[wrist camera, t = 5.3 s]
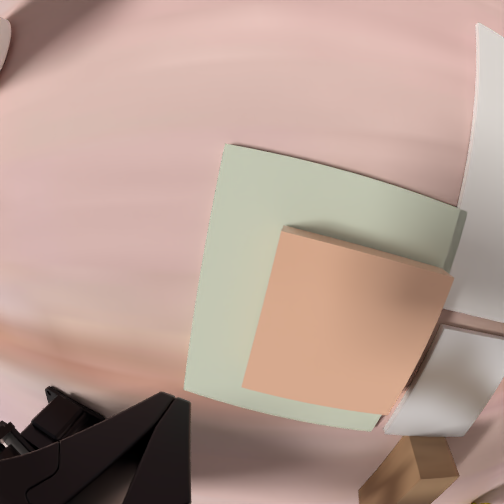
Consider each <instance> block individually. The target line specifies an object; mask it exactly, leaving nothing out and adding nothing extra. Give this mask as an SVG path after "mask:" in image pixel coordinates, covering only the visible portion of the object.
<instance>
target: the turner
mask: <svg viewBox="0 0 504 504" xmlns="http://www.w3.org/2000/svg"><path fill="white" fill-rule="evenodd" d="M503 377H504V337H502V336H497V335H492V334H487V333H482V332H478V331H473V330H468V329H463V328H458V327H454V326H449V325H444V324H441V325H440V327H439V329H438V331H437V334H436V336H435V338H434V340H433V342H432V344H431V346H430V348H429V350H428V352H427V354H426V356H425V358H424V360H423V362H422V364H421V366H420V368H419V370H418V372H417V374H416V375H415V377H414V379H413V381H412V383H411V384H410V386H409V388H408V390H407V391H406V393H405V395H404V397H403V398H402V400H401V402H400V403H399V405H398V406H397V408H396V410H395V411H394V413H393V414H392V416H391V418H390V419H389V421H388V422H387V424H386V425H385V427H384V428H383V429H384V433H385V434H389V435H403V437H402V438H401V440H400V441H399V442H398V444H397V445H396V446H395V448H394V449H393V450H392V451H391V453H390V454H389V455H388V456H387V458H386V459H385V460H384V461H383V463H382V464H381V465H380V466H379V468H378V469H377V470H376V471H375V472H374V473H373V475H372V476H371V477H370V478H369V479H368V480H367V481H366V483H365V484H364V485H363V486H362V487H361V488H360V489H359V490H358V493H359V504H431V503H432V502H433V501H434V500H435V499H436V498H437V497H439V496H440V495H441V494H442V493H443V492H444V491H445V490H446V489H447V488H448V487H449V486H450V485H451V484H452V483H453V482H454V481H455V480H456V479H457V478H458V477H459V473H458V470H457V468H456V465H455V462H454V459H453V457H452V454H451V451H450V449H449V446H448V444H447V441H446V439H445V437H462V436H464V435H465V434H466V432H467V431H468V430H469V428H470V427H471V426H472V424H473V423H474V422H475V420H476V419H477V417H478V416H479V415H480V413H481V412H482V410H483V409H484V407H485V406H486V404H487V403H488V401H489V400H490V398H491V397H492V395H493V394H494V392H495V390H496V389H497V387H498V386H499V384H500V382H501V381H502V379H503Z"/></svg>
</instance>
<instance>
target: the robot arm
mask: <svg viewBox="0 0 504 504" xmlns="http://www.w3.org/2000/svg"><path fill="white" fill-rule="evenodd" d="M45 392H46V396H47V400H48V403H49V404H48V405H47V406H46V407H45V408H44V409H43V410H42V411H41V412H40V413H39V414H37V415H36V416H35V417H34V418H33V419H32V421H31V423H30V424H29V425H28V426H27V427H26V428H25V429H24V430H23V431H22V432H21V433H19V432H18V431H17V430H16V429H15V426H14V425H13V424H12V423H11V422H9V423H8V424H7V423H5V422H4V421H1V422H0V504H191V462H190V429H191V403H190V401H187V400H184V399H182V398H179V397H177V398H175V396H173V395H171V394H168V393H165V392H159V393H157V394H155V395H153V396H151V397H150V398H148V399H146V400H144V401H142V402H140V403H138V404H136V405H134V406H132V407H130V408H128V409H126V410H124V411H122V412H120V413H118V414H116V415H114V416H112V417H110V418H108V419H106V420H105V418H104V417H103V416H101V415H99V414H97V413H95V412H94V411H92V410H90V409H88V408H86V407H84V406H82V405H81V404H79V403H77V402H75V401H73V400H72V399H70V398H68V397H66V396H65V395H63V394H61V393H60V392H58V391H56V390H55V389H53V388H52V387H50V386H48V387H47V388H46V389H45ZM4 442H5V443H6V444H7V445H8V447H7V448H6V447H5V446H4V445H3V443H4Z"/></svg>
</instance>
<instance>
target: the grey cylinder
mask: <svg viewBox="0 0 504 504" xmlns="http://www.w3.org/2000/svg"><path fill="white" fill-rule="evenodd" d="M10 39H11V25H10V22H9V21H8V20H7V19H4V18H1V17H0V71H1V69H2V67H3V64H4V62H5V59H6V56H7V52H8V48H9V44H10Z"/></svg>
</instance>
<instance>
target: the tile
mask: <svg viewBox="0 0 504 504" xmlns="http://www.w3.org/2000/svg"><path fill="white" fill-rule="evenodd" d="M453 281H454V277H453V276H451V275H450V274H449V273H447V272H446V271H445V270H443V269H442V268H439V267H436V266H433V265H429V264H426V263H422V262H419V261H415V260H412V259H408V258H405V257H401V256H398V255H394V254H391V253H387V252H384V251H380V250H376V249H373V248H369V247H365V246H362V245H358V244H354V243H351V242H347V241H343V240H339V239H336V238H332V237H328V236H324V235H320V234H316V233H312V232H308V231H305V230H301V229H297V228H293V227H289V226H285V225H283V228H282V230H281V234H280V238H279V242H278V246H277V250H276V254H275V258H274V262H273V266H272V270H271V274H270V278H269V282H268V286H267V290H266V294H265V298H264V302H263V306H262V310H261V314H260V318H259V322H258V326H257V330H256V333H255V337H254V341H253V345H252V349H251V353H250V356H249V360H248V364H247V368H246V371H245V375H244V379H243V383H242V386H241V387H242V388H246V389H249V390H253V391H257V392H261V393H265V394H269V395H273V396H277V397H282V398H286V399H291V400H295V401H300V402H305V403H310V404H315V405H321V406H326V407H332V408H338V409H344V410H350V411H357V412H364V413H372V414H380V415H388V414H389V412H390V411H391V409H392V407H393V406H394V404H395V402H396V401H397V399H398V397H399V396H400V394H401V392H402V390H403V389H404V387H405V385H406V383H407V382H408V380H409V378H410V376H411V374H412V372H413V371H414V369H415V367H416V365H417V363H418V361H419V359H420V357H421V355H422V353H423V351H424V349H425V347H426V345H427V343H428V341H429V338H430V336H431V334H432V332H433V330H434V328H435V325H436V323H437V321H438V318H439V316H440V314H441V311H442V309H443V307H444V304H445V302H446V299H447V296H448V294H449V291H450V289H451V286H452V283H453Z"/></svg>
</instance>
